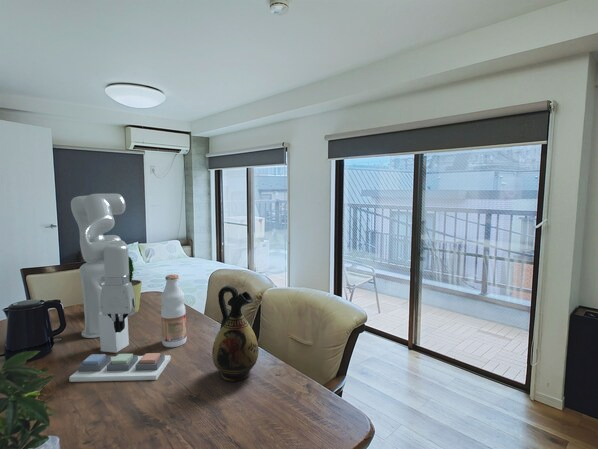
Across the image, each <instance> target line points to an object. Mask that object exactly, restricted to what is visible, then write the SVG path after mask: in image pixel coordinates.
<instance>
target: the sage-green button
mask: <svg viewBox="0 0 598 449" xmlns="http://www.w3.org/2000/svg"><path fill="white" fill-rule="evenodd" d="M133 355H134V353H118V354H117V355H116V357H115V358H114V359H113V360H112V364H128V363H129V361H130V360H131V359H132V358H133Z"/></svg>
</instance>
